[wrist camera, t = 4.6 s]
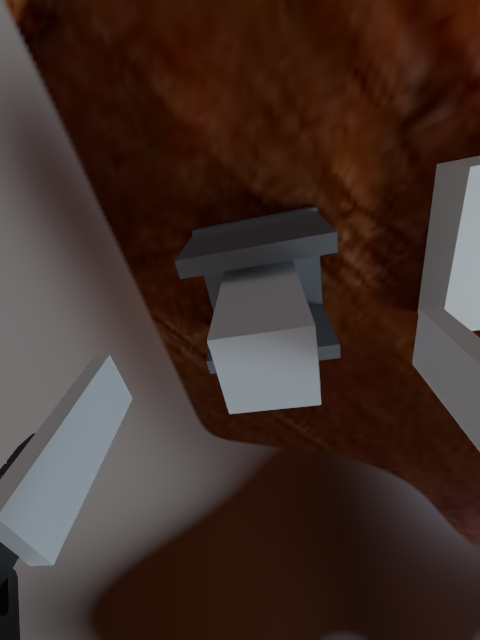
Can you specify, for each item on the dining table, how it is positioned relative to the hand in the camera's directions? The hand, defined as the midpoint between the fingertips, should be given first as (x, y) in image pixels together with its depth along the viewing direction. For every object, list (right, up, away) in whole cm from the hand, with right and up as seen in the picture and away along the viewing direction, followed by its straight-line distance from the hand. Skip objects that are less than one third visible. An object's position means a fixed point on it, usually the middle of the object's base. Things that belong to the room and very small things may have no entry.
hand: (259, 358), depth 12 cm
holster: (+1, +5, +8) cm, 9 cm away
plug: (+1, +5, +8) cm, 9 cm away
